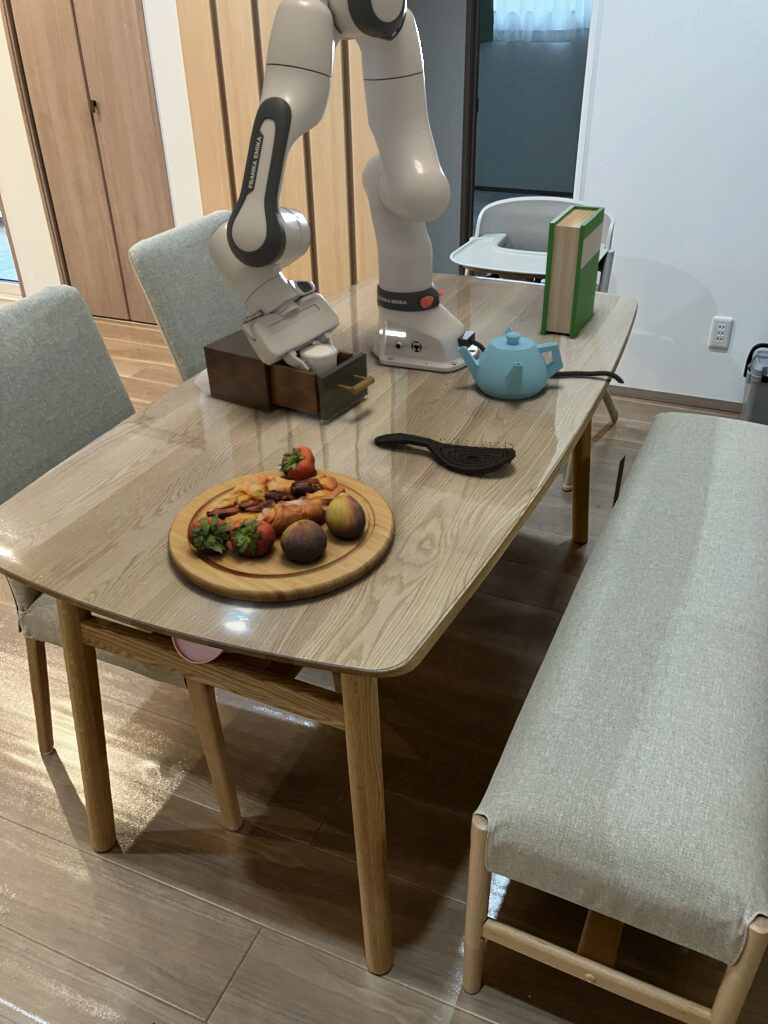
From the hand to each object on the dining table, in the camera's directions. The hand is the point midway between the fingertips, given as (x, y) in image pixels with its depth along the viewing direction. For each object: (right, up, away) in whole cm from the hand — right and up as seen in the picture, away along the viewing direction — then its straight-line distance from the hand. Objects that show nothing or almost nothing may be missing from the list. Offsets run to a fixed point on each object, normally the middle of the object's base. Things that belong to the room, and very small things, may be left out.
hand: (321, 364), depth 151 cm
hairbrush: (+21, -18, -14) cm, 31 cm away
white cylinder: (0, -4, +3) cm, 5 cm away
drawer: (+1, -6, +3) cm, 7 cm away
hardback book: (+53, +16, +39) cm, 68 cm away
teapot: (+36, -3, +9) cm, 37 cm away
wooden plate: (-3, -30, -32) cm, 45 cm away
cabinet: (-12, -3, +11) cm, 17 cm away
